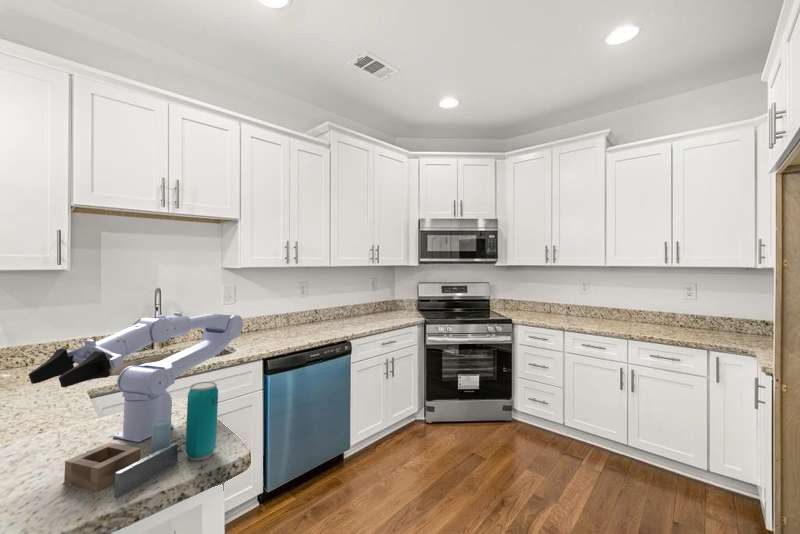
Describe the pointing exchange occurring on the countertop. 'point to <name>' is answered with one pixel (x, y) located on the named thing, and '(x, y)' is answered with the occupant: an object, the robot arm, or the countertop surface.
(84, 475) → the block
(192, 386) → the beverage can
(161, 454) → the wall
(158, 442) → the dowel
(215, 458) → the countertop surface
